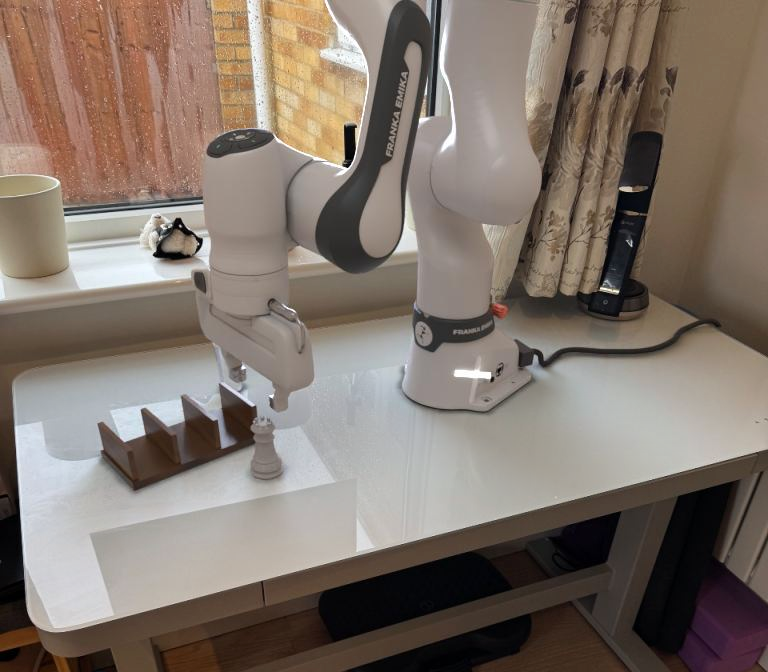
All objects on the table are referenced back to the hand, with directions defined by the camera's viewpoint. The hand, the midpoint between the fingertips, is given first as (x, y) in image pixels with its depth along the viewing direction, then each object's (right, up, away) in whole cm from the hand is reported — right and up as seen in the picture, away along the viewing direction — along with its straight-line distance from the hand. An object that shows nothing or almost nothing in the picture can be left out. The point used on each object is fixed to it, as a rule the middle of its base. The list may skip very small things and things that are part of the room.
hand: (257, 394), depth 95 cm
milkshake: (-8, +5, +26) cm, 28 cm away
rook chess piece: (0, -10, +8) cm, 12 cm away
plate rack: (-12, -6, +12) cm, 18 cm away
